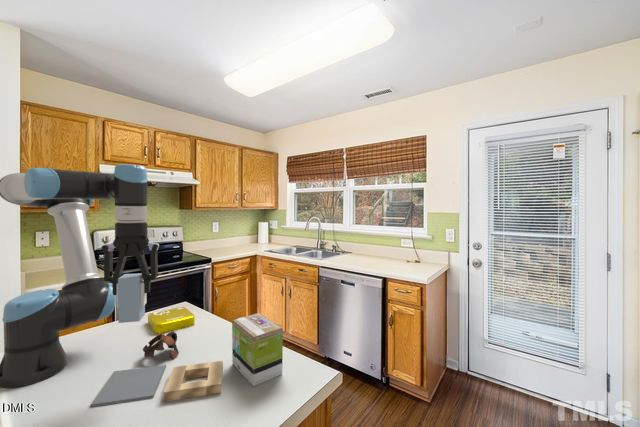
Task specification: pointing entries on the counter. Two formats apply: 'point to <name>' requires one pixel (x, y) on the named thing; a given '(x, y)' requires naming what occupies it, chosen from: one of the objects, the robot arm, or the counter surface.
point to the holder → (194, 389)
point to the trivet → (130, 385)
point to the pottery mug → (159, 345)
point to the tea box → (257, 348)
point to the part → (130, 298)
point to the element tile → (170, 320)
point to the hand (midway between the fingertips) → (132, 305)
